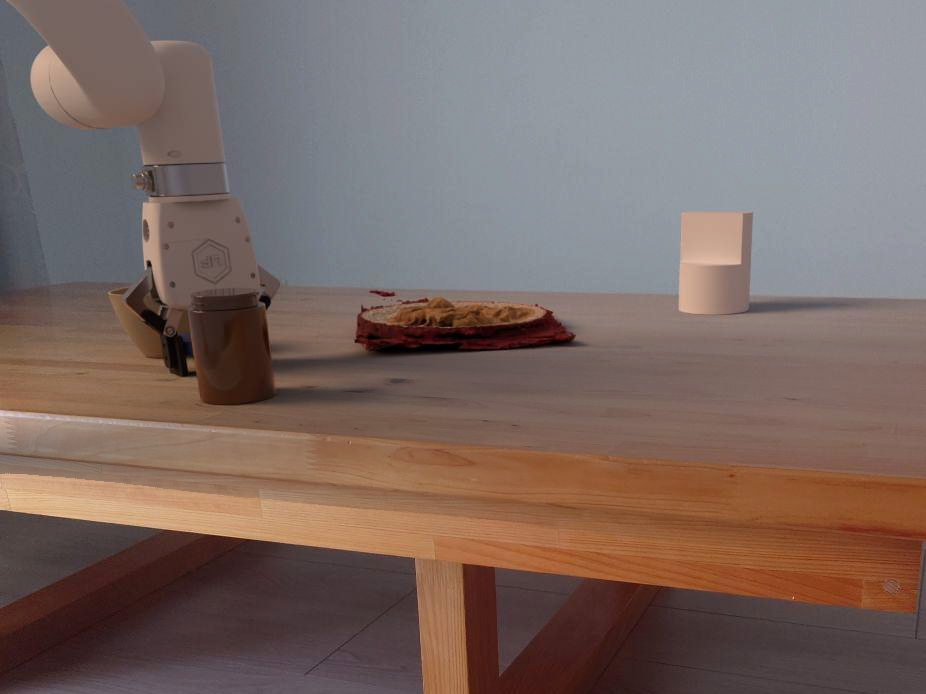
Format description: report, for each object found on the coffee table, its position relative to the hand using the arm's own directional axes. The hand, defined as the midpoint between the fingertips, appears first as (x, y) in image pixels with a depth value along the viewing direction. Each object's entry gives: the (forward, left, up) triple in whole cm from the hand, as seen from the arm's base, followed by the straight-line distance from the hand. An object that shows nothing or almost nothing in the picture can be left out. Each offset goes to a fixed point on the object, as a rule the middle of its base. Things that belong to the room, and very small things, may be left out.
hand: (215, 367), depth 103 cm
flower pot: (0, +12, 0) cm, 12 cm away
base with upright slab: (+62, -14, 0) cm, 63 cm away
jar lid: (0, 0, +3) cm, 3 cm away
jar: (-4, -14, 0) cm, 15 cm away
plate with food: (+30, -2, 0) cm, 30 cm away
